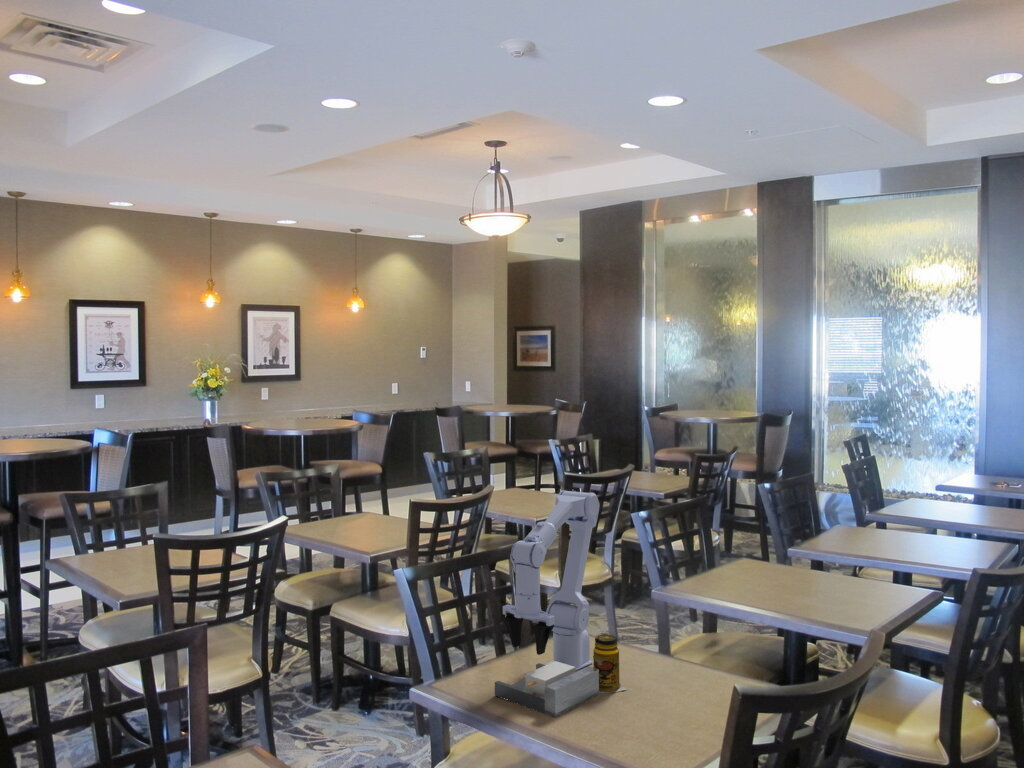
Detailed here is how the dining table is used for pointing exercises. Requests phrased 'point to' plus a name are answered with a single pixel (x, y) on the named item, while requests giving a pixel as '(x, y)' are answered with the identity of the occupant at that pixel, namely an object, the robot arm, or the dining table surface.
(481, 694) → the dining table surface
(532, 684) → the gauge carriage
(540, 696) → the gauge frame
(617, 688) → the condiment
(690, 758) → the dining table surface
